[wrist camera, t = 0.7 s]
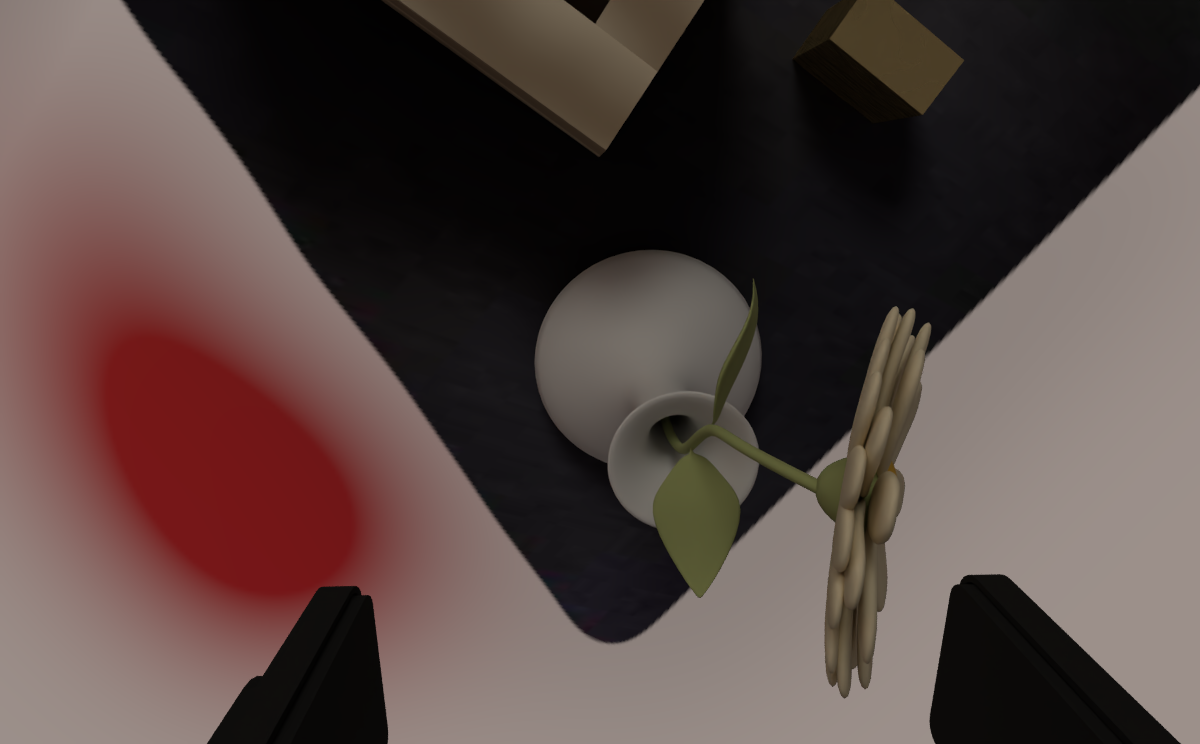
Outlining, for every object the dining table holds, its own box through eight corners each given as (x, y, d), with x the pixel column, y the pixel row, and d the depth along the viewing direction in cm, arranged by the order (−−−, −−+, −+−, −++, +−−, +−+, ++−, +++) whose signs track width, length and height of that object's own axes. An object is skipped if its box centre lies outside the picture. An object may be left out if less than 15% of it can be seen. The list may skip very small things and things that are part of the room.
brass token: (826, 10, 31) (870, -20, 26) (906, 77, 32) (963, 60, 27) (792, 59, 32) (829, 38, 27) (872, 123, 33) (922, 114, 28)
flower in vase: (694, 486, 38) (893, 1032, 14) (503, 409, 36) (350, 873, 12) (807, 271, 34) (1326, 494, 10) (603, 176, 33) (663, 182, 9)
